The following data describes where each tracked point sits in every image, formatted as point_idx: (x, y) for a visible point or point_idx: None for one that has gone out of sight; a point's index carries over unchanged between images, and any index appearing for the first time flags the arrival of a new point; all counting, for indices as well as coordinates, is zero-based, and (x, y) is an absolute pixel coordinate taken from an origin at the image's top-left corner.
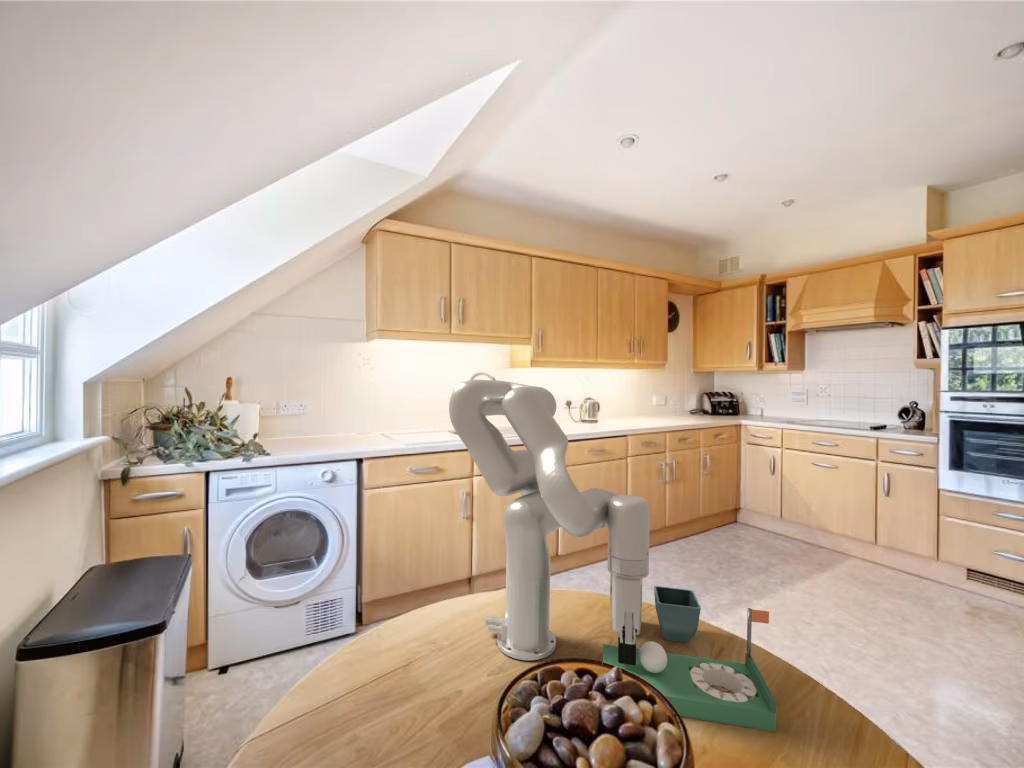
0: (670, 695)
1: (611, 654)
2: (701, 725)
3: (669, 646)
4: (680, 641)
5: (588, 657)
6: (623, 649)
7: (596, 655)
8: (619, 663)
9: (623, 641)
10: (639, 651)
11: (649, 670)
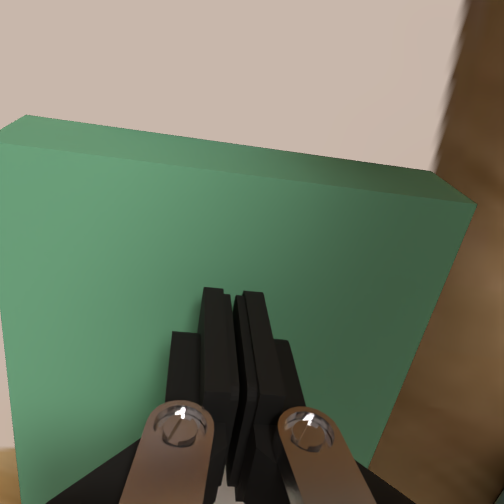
0: (26, 458)
1: (354, 243)
2: (17, 468)
3: (482, 457)
4: (500, 496)
5: (455, 82)
6: (168, 387)
7: (468, 138)
8: (258, 277)
9: (96, 468)
10: None
11: None
